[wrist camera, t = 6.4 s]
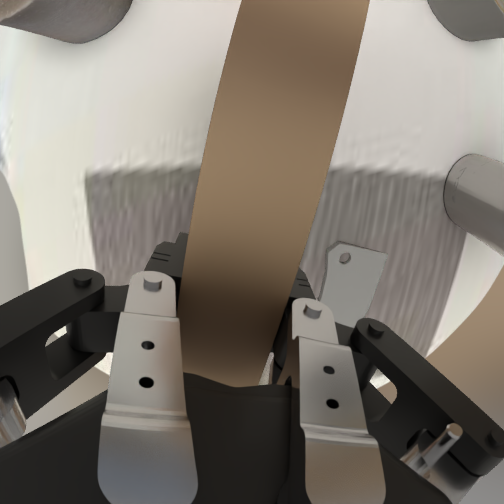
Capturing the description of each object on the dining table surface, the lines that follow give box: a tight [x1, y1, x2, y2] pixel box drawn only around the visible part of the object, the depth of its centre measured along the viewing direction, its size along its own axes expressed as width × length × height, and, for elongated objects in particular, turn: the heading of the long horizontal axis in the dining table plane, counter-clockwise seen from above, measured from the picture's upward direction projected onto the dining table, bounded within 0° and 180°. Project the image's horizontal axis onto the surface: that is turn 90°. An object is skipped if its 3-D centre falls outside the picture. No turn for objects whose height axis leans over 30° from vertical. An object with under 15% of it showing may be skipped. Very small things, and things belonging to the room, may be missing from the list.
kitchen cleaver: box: [318, 241, 388, 328], centre depth 39 cm, size 24×1×10 cm
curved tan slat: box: [177, 0, 370, 387], centre depth 12 cm, size 22×3×6 cm, turn 167°
